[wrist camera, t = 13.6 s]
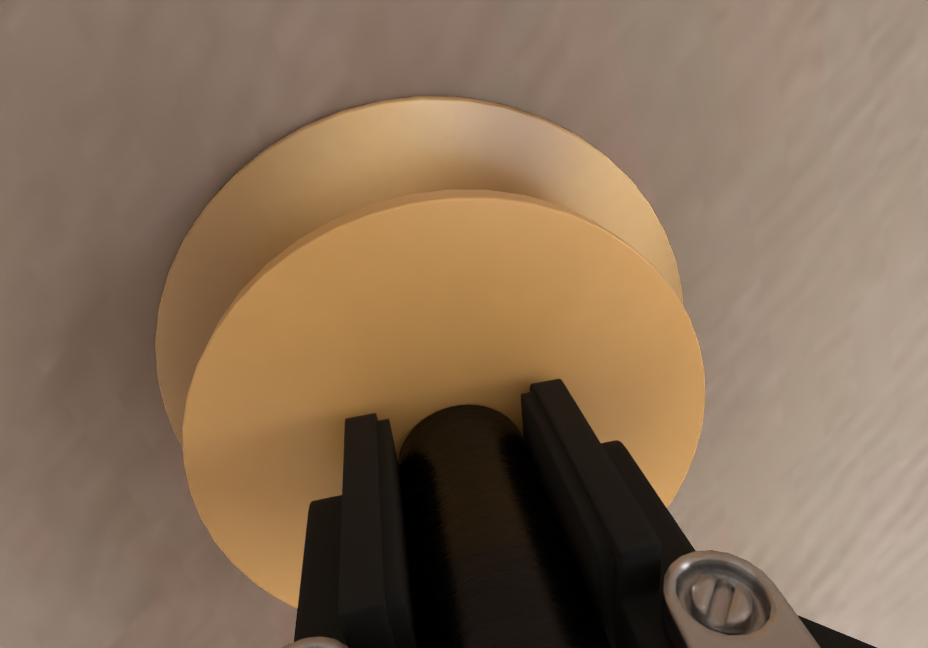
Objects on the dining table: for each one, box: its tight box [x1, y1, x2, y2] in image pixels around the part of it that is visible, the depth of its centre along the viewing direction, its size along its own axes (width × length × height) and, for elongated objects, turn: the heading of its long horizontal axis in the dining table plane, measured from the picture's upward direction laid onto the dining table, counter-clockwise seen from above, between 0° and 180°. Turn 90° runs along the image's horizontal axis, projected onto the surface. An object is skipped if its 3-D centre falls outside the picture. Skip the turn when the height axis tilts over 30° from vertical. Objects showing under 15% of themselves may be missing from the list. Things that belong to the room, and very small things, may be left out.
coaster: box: [155, 96, 683, 448], centre depth 13 cm, size 12×12×1 cm
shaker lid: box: [182, 190, 705, 648], centre depth 9 cm, size 10×10×6 cm
